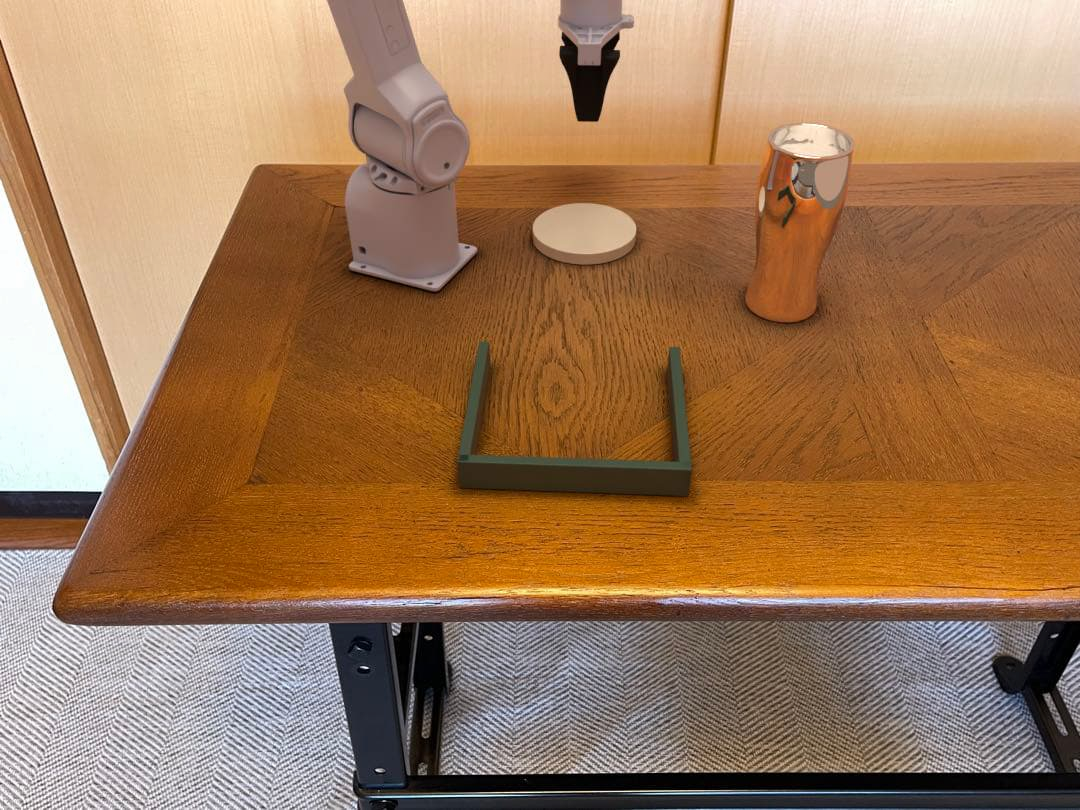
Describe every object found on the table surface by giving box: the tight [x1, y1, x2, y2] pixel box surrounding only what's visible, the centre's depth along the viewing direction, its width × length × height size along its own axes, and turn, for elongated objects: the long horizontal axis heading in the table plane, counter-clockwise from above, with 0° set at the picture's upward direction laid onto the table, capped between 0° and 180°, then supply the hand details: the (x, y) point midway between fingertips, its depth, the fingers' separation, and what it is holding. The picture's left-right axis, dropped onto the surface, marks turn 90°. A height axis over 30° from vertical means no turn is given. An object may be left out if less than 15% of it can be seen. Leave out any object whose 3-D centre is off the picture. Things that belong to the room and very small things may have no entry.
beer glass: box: [744, 122, 856, 324], centre depth 76 cm, size 7×7×15 cm
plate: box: [531, 202, 637, 266], centre depth 89 cm, size 10×10×1 cm
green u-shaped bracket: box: [456, 341, 693, 497], centre depth 67 cm, size 14×16×2 cm
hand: (588, 113), depth 92 cm, fingers open, 3 cm apart
